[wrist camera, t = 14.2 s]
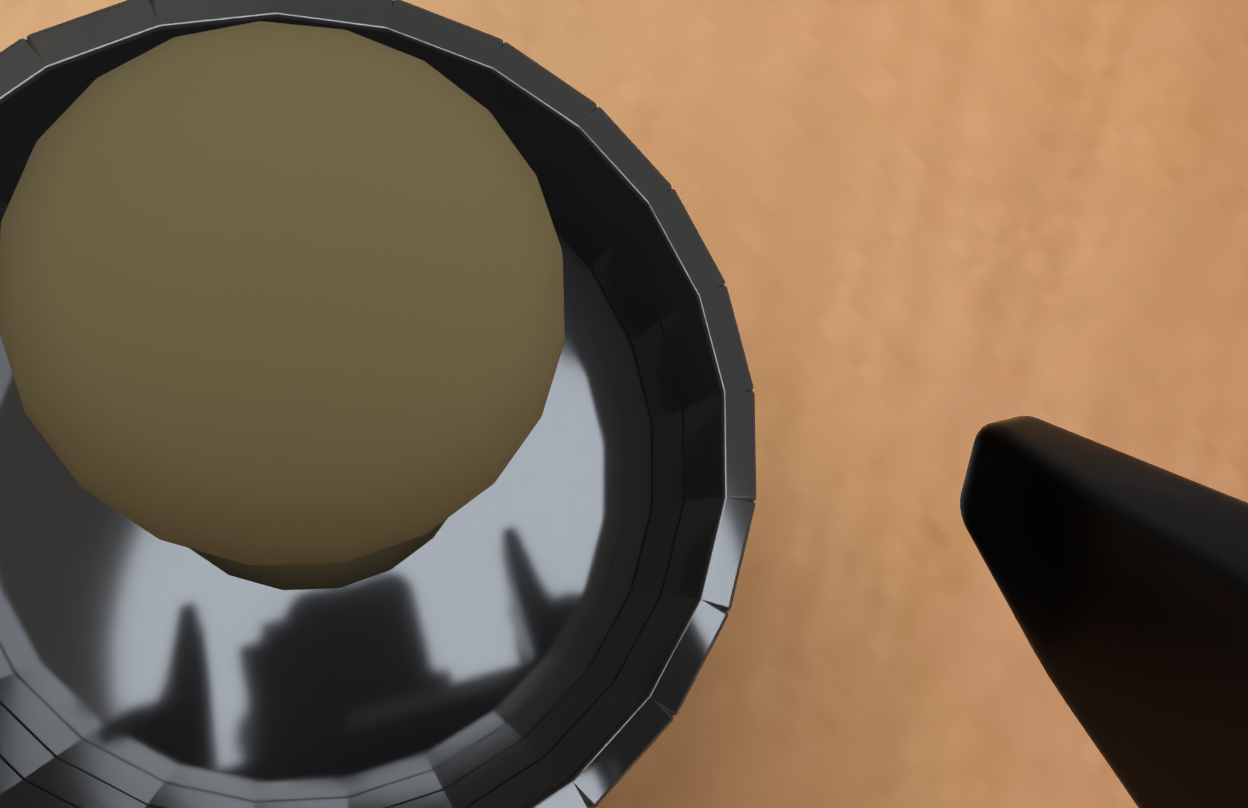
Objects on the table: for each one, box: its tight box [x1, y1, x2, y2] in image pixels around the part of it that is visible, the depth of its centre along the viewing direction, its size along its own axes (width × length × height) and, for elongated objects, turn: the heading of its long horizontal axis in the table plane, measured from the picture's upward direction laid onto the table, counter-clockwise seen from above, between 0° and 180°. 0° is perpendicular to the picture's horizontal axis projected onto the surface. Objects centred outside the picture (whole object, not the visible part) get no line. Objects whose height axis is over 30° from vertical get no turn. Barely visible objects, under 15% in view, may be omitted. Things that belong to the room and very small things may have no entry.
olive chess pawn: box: [0, 21, 565, 590], centre depth 14 cm, size 6×6×11 cm
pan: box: [0, 0, 756, 808], centre depth 18 cm, size 14×14×4 cm
